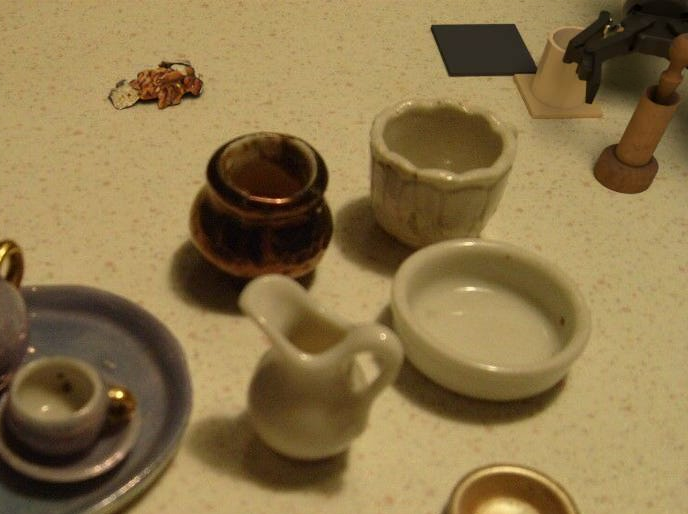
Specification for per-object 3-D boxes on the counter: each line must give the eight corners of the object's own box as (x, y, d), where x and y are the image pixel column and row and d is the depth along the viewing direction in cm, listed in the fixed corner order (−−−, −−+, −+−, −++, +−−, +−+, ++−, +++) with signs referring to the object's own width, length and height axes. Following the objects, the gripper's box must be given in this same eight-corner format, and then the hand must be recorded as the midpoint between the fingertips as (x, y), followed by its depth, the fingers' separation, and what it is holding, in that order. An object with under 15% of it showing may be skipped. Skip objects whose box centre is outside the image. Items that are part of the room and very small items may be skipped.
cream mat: (579, 76, 114) (581, 73, 114) (601, 117, 109) (603, 113, 108) (513, 77, 114) (514, 73, 113) (532, 118, 108) (533, 114, 108)
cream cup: (574, 81, 114) (596, 25, 107) (591, 112, 109) (615, 56, 103) (522, 82, 113) (542, 25, 107) (537, 113, 109) (558, 57, 103)
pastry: (102, 90, 111) (100, 66, 108) (186, 68, 114) (186, 44, 111) (123, 120, 107) (121, 95, 104) (210, 96, 110) (210, 72, 107)
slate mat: (513, 27, 122) (514, 23, 121) (537, 75, 114) (539, 71, 114) (430, 28, 121) (431, 24, 121) (449, 76, 114) (450, 72, 113)
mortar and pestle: (618, 199, 99) (689, 59, 85) (581, 166, 102) (644, 27, 88) (663, 185, 100) (739, 45, 86) (625, 153, 104) (693, 14, 90)
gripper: (746, 54, 107) (761, 155, 94) (542, 20, 111) (530, 112, 99) (778, -3, 101) (798, 96, 88) (561, -37, 106) (551, 53, 93)
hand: (657, 105), depth 94 cm, fingers open, 13 cm apart
